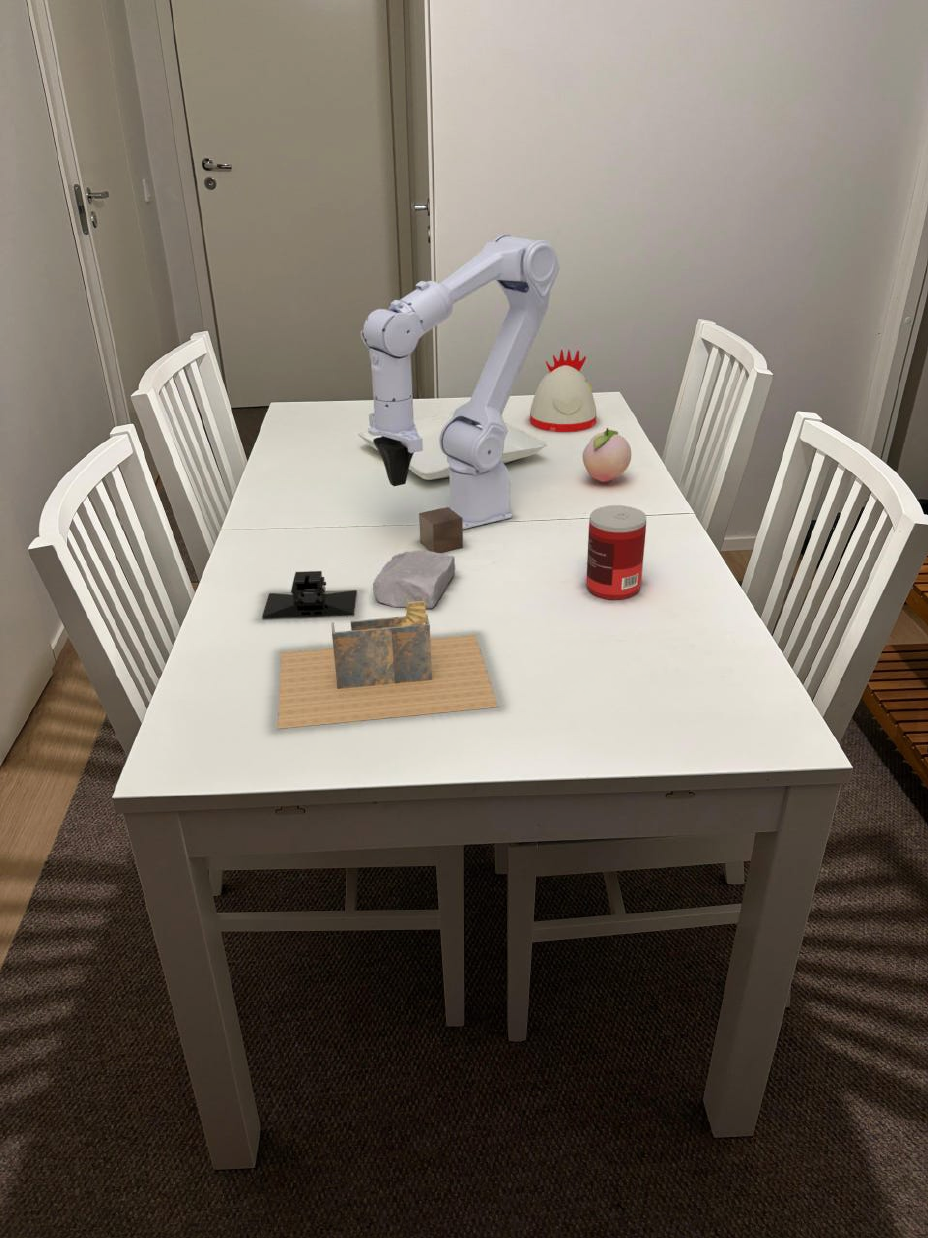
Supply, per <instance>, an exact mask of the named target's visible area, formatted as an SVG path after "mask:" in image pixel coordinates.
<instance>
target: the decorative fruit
mask: <svg viewBox="0 0 928 1238" xmlns="http://www.w3.org/2000/svg"><path fill="white" fill-rule="evenodd" d="M631 461H632V448H631V444H630V443H629V442H628V440H627V439H626V438H625V437H623V436H621V434H619V431H617V430H613V429H610V428H609V427H607V428H606V430H605V431H603V432H599V433H597V434H595V435H594V436H593V437H592V438H591V439H590V440H589V442H588V443H587V444H586V445H585V447H584V449H583V451H582V462H583V465H584V468H585V470H586V471H587V473H588V474H589V476H591V477H592V478H593V479H594V480H596V481H598V482H601V483H606V482H609V481H611V480H614V479H616V478H618V477H619V476H621V475H623V474H624V473H625V472H626V471H627V469H628V467H629V466H630V465H631Z"/></svg>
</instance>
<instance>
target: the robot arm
mask: <svg viewBox="0 0 928 1238" xmlns="http://www.w3.org/2000/svg"><path fill="white" fill-rule="evenodd" d="M560 268H561V267H560V263H559V261H558V257H557V253H556V250H555V248H554V246H553V245H552V244H551V243H550V242H549V241H548V240H543V239H538V240H537V239H531V238H526V237H525V238H524V237H518V236H513V235H510V234H500V235H498V236H496V237H495V238H494V239H493V240H491V241H488V242H486V243H485V244H484V246H483V249H482V250H481V251H480V252H479V253H478V254H476V255H475V256H474V257H472V258H471V259H470V260H468V261H467V262H466V263H465V264H463V265H462V266H460V267H459V268H458V269H457V270H456V271H454V272H453V273H451V274H450V275H449V276H448V277H446V278H445V279H443V280H442V281H441V282H437V281H435V280H428V281H424V280H421V281H419V282H418V283H416V284H415V287H416V289H414V290H413V291H411V292H410V293H407V295H405V296H403V297H402V298H400V299H399V300H398V299H394V300H393V301H391V302H390V306H389V307H388V309H385V308H378V309H375V310H373V311H372V312H371V313H369V314H368V316H367V317H366V318H365V321H364V323H363V329H362V330H361V331H360V333H359V334H360V338H361V340H362V342H363V344H364V345H365V346H366V347H367V349H368V354H369V355H368V356H369V359H370V368H371V382H372V385H371V386H372V396H373V410H374V411H373V413H368V421H369V426H370V427H368V429H367V431H368V433H369V434H371V435H372V436H377V435H380V436H382V437H379V438H375V439H374V440H373V442H374V444H375V446H376V447H377V449H378V450H377V451H378V453H379V455H380V457H381V460H382V462H383V465H384V469H385V472H386V475H387V479H388V482H389V484H390V485H391V486H392V487H398V486H402V485H406V483H407V479H408V475H409V471H410V470H409V465H410V462H411V459H412V456H413V454H414V452H419V451H423V442H422V438H421V437H420V436H419V434H418V431H417V429H416V426H415V424H414V420H415V418H414V398H413V379H412V378H413V377H412V375H413V374H412V356H411V355H412V353H413V352H414V350H415V349H416V348H417V345H418V343H419V340H420V338H422V337H423V335H425V334H426V333H428V332H430V331H431V330H432V329H434V328H435V327H437V326H438V325H439V324H441V323H442V322H444V321H446V320H447V319H448V318H450V317H451V316H452V313H453V308H454V307H453V306H454V304H456V303H458V302H459V301H461V300H463V299H464V298H467V297H468V296H469V295H472V294H473V293H475V292H477V291H478V290H479V289H482V288H483V287H485V286H487V285H488V284H490V283H492V282H493V281H496V282H497V284H498V286H499V287H500V288H501V290H502V292H503V293H504V295H505V296H506V298H507V302H508V303H509V304H508V305H509V309H508V311H507V313H506V315H505V318H504V320H503V322H502V325H501V327H500V329H499V332H498V334H497V336H496V339H495V340H494V344H493V346H492V348H491V349H490V353H489V355H488V357H487V360H486V363H485V365H484V367H483V369H482V371H481V373H480V376H479V378H478V380H477V383H476V385H475V387H474V390H473V392H472V394H471V397H470V400H469V401H467V402H465V403H464V404H463V405H460V406H458V407H457V408H456V409H455V410H454V412H453V413H454V415H453V417H452V418H451V420H450V421H449V422H448V423H447V424H446V425H445V426H444V427H443V429H442V431H441V434H440V438H439V444H440V448H441V450H442V452H443V453H444V454H445V455H447V462H448V463H449V476H450V477H449V504H450V505H449V508H450V509H451V510H453V511H454V512H455V513H457V514H458V515H459V516H461V517H462V521H463V530H467V529H471V528H474V527H478V526H483V525H487V524H491V523H495V522H498V521H503V520H507V519H511V518H513V514H512V513H510V512H511V511H510V510H511V506H510V503H511V481H510V474H509V470H508V468H507V466H506V465H505V464H504V463H503V462H501V461H500V460H501V457H502V455H503V449H504V440H505V437H506V435H507V433H508V430H507V427H506V425H505V423H506V422H505V420H504V418H503V413H504V411H505V408H506V406H507V403H508V401H509V399H510V397H511V394H512V392H513V390H514V387H515V385H516V383H517V381H518V378H519V377H520V374H521V371H522V369H523V367H524V364H525V362H526V360H527V358H528V355H529V353H530V350H531V349H532V346H533V343H534V342H535V339H536V337H537V335H538V332H539V330H540V328H541V325H542V323H543V321H544V318H545V316H546V313H547V311H548V308H549V307H548V306H549V302H550V296H551V290H552V288H553V285H554V283H555V281H556V278H557V276H558V273H559V271H560ZM504 422H505V423H504ZM477 425H482V428H480V427H478V426H477Z"/></svg>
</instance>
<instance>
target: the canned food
mask: <svg viewBox="0 0 928 1238" xmlns="http://www.w3.org/2000/svg"><path fill="white" fill-rule="evenodd" d="M588 521H589V522H588V534H587V535H588V538H587V559H586V577H585V579H586V580H585V584H586V586H587V589H588V591H589V592H590V593H591V594H592V595H594V596H596V597H599V598H601V599H605V600H625V599H628V598H630V597H633V596H634V595H636V594H637V593H638V592H639V590H640V588H641V586H642V578H643V577H642V576H643V568H644V567H643V565H644V555H645V546H646V545H645V544H646V532H647V515H646V513H645V512H644V511H642V510H640V509H638V508H637V507H633V506H629V505H623V504H622V505H620V504H614V505H605V506H601V507H598V508H595V509H594V510H592V511H591V512H590V514H589V518H588Z"/></svg>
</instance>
